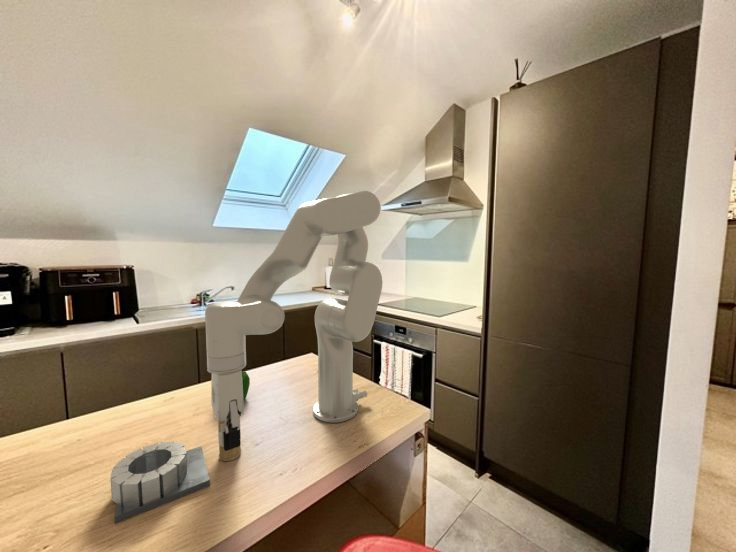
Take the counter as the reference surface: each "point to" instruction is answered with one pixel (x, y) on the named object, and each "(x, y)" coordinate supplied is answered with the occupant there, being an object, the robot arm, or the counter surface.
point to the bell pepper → (245, 383)
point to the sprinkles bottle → (223, 454)
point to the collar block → (156, 477)
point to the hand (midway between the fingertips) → (229, 440)
